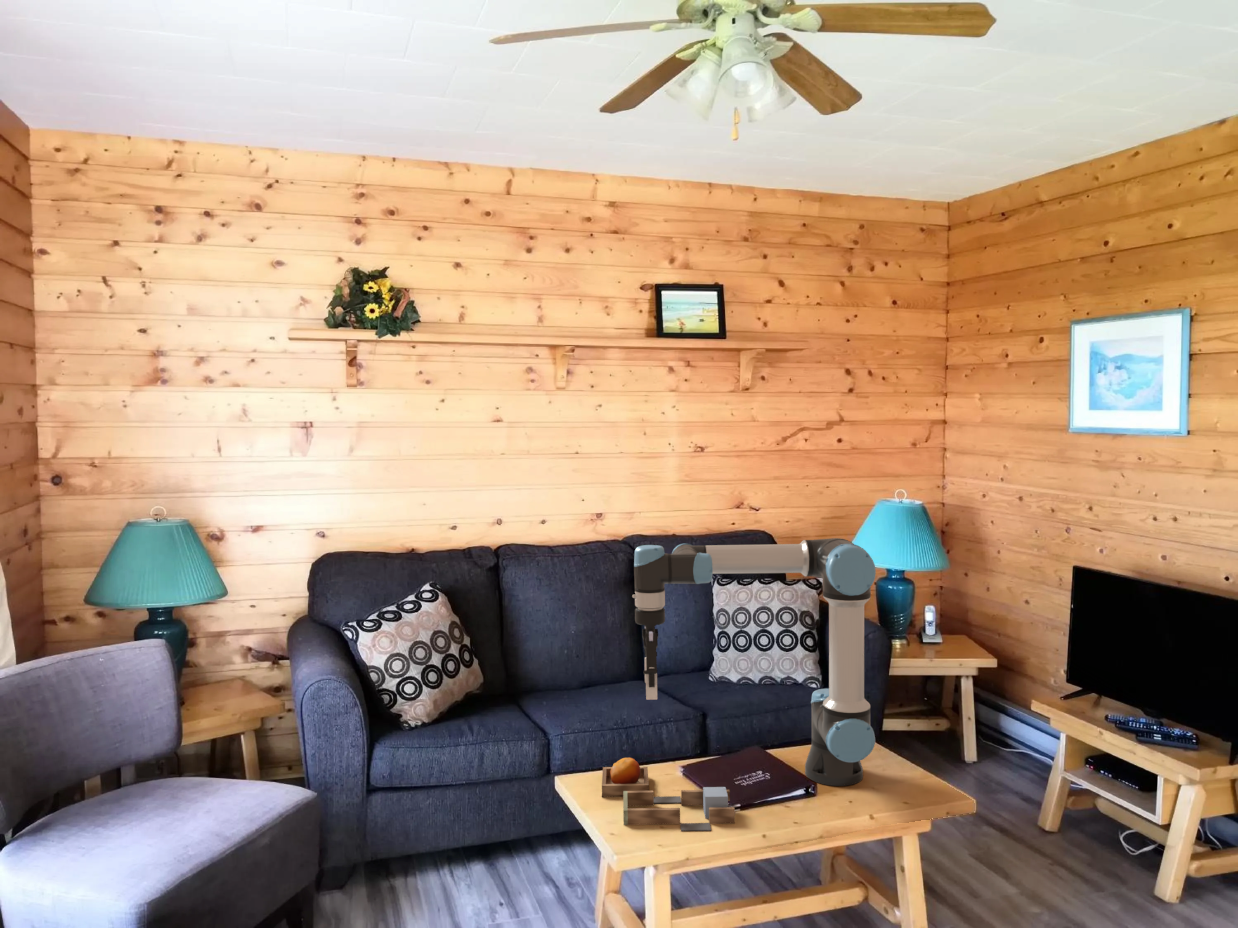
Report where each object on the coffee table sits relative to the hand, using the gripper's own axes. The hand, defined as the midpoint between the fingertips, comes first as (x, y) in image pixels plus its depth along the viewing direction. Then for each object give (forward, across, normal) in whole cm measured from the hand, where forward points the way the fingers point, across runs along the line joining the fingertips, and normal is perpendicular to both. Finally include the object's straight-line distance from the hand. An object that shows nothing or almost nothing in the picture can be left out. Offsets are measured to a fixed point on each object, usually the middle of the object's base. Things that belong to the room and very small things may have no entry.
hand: (650, 690), depth 229 cm
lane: (+28, +9, +6) cm, 30 cm away
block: (+28, +9, +15) cm, 33 cm away
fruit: (+28, -7, -7) cm, 29 cm away
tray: (+28, -7, -7) cm, 30 cm away
